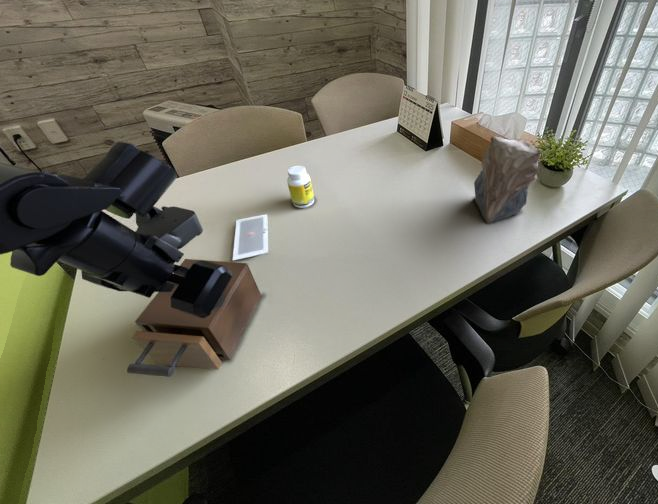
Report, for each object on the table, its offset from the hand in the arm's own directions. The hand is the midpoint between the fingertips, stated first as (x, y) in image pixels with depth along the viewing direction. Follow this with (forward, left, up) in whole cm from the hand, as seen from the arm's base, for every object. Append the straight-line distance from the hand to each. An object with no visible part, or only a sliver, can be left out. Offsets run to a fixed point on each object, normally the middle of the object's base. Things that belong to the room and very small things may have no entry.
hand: (196, 295), depth 48 cm
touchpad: (+9, +29, -18) cm, 35 cm away
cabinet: (-2, +8, -17) cm, 19 cm away
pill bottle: (+25, +37, -18) cm, 48 cm away
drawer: (-5, +4, -16) cm, 18 cm away
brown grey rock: (+70, +6, -18) cm, 73 cm away
